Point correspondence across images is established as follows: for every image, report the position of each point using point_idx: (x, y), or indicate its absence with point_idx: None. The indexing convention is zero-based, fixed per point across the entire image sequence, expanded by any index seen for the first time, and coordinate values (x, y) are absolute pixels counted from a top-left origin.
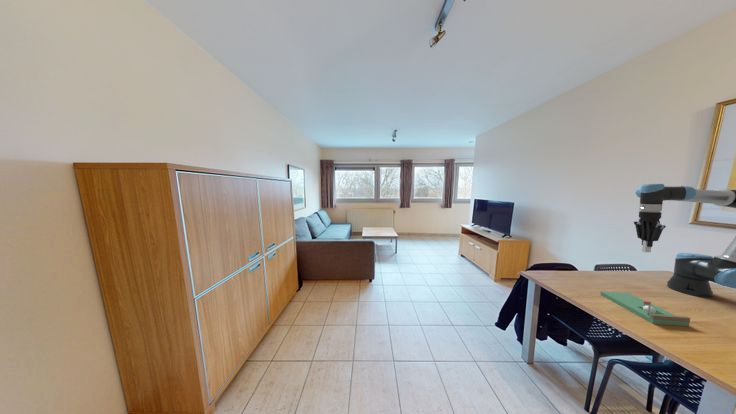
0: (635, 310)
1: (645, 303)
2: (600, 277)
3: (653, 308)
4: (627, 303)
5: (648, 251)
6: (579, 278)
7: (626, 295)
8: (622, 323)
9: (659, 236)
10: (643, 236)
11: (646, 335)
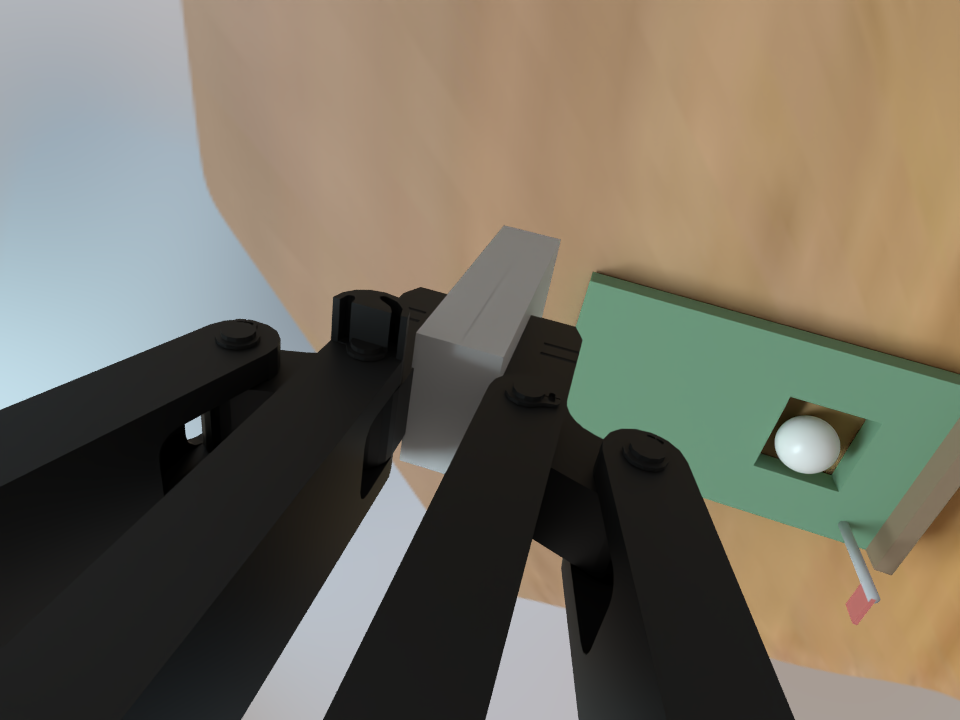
0: (778, 520)
1: (856, 607)
2: (264, 76)
3: (832, 456)
4: (707, 473)
5: (548, 284)
6: (296, 290)
7: (620, 347)
8: (811, 649)
9: (748, 635)
10: (337, 541)
11: (916, 665)
